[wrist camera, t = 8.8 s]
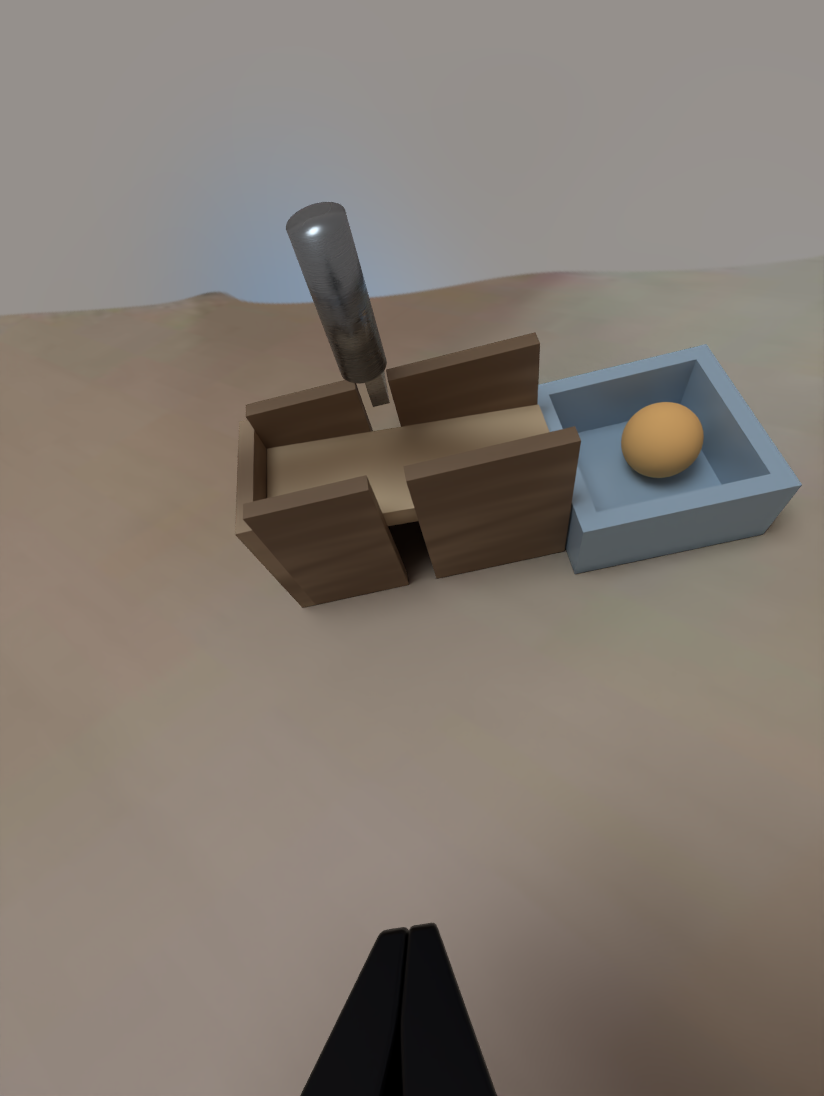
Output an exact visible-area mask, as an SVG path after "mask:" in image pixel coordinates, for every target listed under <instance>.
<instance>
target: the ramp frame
mask: <svg viewBox="0 0 824 1096" xmlns="http://www.w3.org/2000/svg"><path fill="white" fill-rule="evenodd" d="M539 354H540V342H539V340H538V338H537V335H536V333H531V334H527V335H523V336H519V337H515V338H511V339H507V340H503V341H499V342H495V343H491V344H487V345H483V346H479V347H475V348H471V349H467V350H463V351H459V352H455V353H451V354H447V355H443V356H439V357H435V358H431V359H427V360H423V361H419V362H415V363H411V364H407V365H403V366H399V367H395V368H391V369H387V370H386V372H387V377H388V382H389V386H390V389H391V393H392V396H393V400H394V403H395V407H396V410H397V414H398V417H399V421H400V424H401V427H397V428H390V429H384V430H378V431H373V430H372V427H371V424H370V421H369V419H368V416H367V413H366V410H365V407H364V405H363V402H362V399H361V396H360V393H359V391H358V388H357V385H356V383H351V382H348V381H346V380H343V381H339V382H335V383H331V384H327V385H323V386H319V387H315V388H311V389H307V390H303V391H299V392H295V393H291V394H287V395H283V396H279V397H275V398H271V399H267V400H263V401H259V402H255V403H251V404H247V405H246V418H247V419H248V420H244V421H240V422H239V440H238V467H237V494H236V521H235V535H236V536H237V537H238V538H239V539H240V540H241V541H242V542H243V544H244V545H245V546H246V547H247V548H248V549H249V550H250V551H251V552H252V553H253V554H254V556H255V557H256V558H257V559H258V560H259V561H260V562H261V563H262V564H263V565H264V566H265V567H266V569H267V570H268V571H269V572H270V573H271V574H272V575H273V576H274V577H275V578H276V579H277V581H278V582H279V583H280V584H281V585H282V586H283V587H284V588H285V589H286V590H287V591H288V592H289V594H290V595H291V596H292V597H293V598H294V599H295V600H296V601H297V602H298V603H299V604H300V606H301V607H302V608H303V607H307V606H312V605H317V604H321V603H326V602H331V601H335V600H340V599H345V598H349V597H354V596H359V595H363V594H368V593H372V592H377V591H382V590H386V589H391V588H396V587H400V586H405V585H409V582H408V576H407V571H406V569H405V566H404V564H403V562H402V559H401V557H400V554H399V552H398V550H397V547H396V545H395V542H394V540H393V538H392V535H391V533H390V530H389V528H388V526H392V525H398V524H404V523H410V522H416V521H419V524H420V527H421V530H422V534H423V537H424V540H425V543H426V546H427V550H428V553H429V556H430V559H431V562H432V566H433V569H434V572H435V575H436V578H442V577H447V576H451V575H456V574H461V573H465V572H470V571H475V570H479V569H484V568H489V567H493V566H498V565H502V564H507V563H512V562H516V561H521V560H526V559H530V558H535V557H540V556H544V555H549V554H553V553H558V552H563V551H564V550H565V543H566V537H567V530H568V524H569V517H570V511H571V504H572V497H573V491H574V484H575V478H576V471H577V465H578V458H579V452H580V445H581V439H580V437H579V434H578V432H577V430H576V427H575V426H574V427H569V428H565V429H561V430H556V431H552V432H549V429H548V427H547V424H546V421H545V419H544V416H543V414H542V411H541V408H540V406H539V404H538V379H539ZM537 404H538V405H537Z"/></svg>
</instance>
